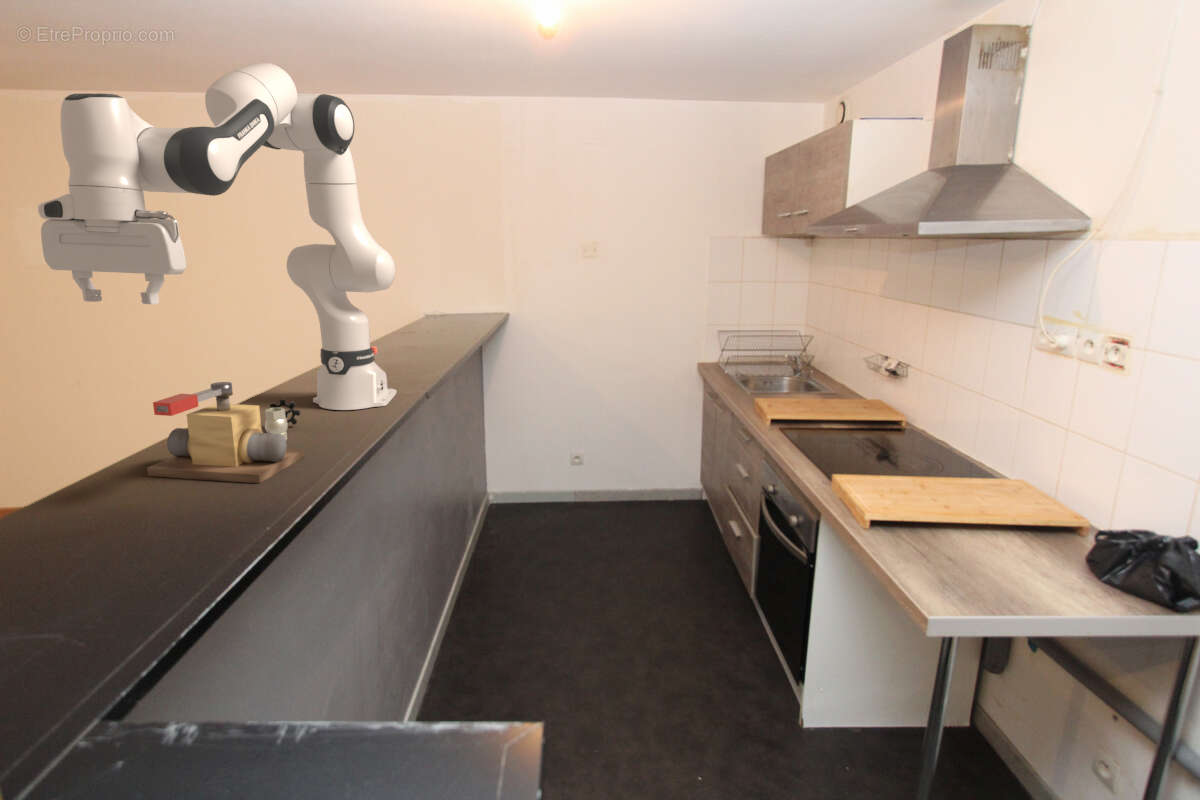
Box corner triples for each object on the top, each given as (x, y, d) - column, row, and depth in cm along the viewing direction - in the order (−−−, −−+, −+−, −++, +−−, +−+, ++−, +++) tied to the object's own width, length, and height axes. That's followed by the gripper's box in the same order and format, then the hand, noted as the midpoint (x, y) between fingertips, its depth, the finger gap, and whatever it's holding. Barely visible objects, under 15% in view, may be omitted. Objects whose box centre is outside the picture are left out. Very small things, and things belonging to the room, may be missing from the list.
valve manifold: (203, 450, 123) (196, 385, 120) (303, 456, 122) (298, 391, 119) (148, 476, 109) (137, 403, 106) (259, 483, 108) (252, 410, 105)
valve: (293, 442, 130) (301, 426, 141) (291, 411, 129) (299, 397, 140) (257, 444, 128) (268, 428, 139) (254, 412, 127) (265, 398, 138)
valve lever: (219, 392, 114) (218, 381, 114) (236, 393, 114) (235, 382, 113) (153, 414, 99) (151, 402, 98) (172, 415, 99) (171, 403, 98)
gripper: (190, 212, 98) (200, 304, 101) (65, 208, 99) (78, 298, 102) (159, 210, 92) (170, 307, 95) (26, 205, 93) (41, 301, 96)
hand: (121, 302), depth 98 cm, fingers open, 8 cm apart
